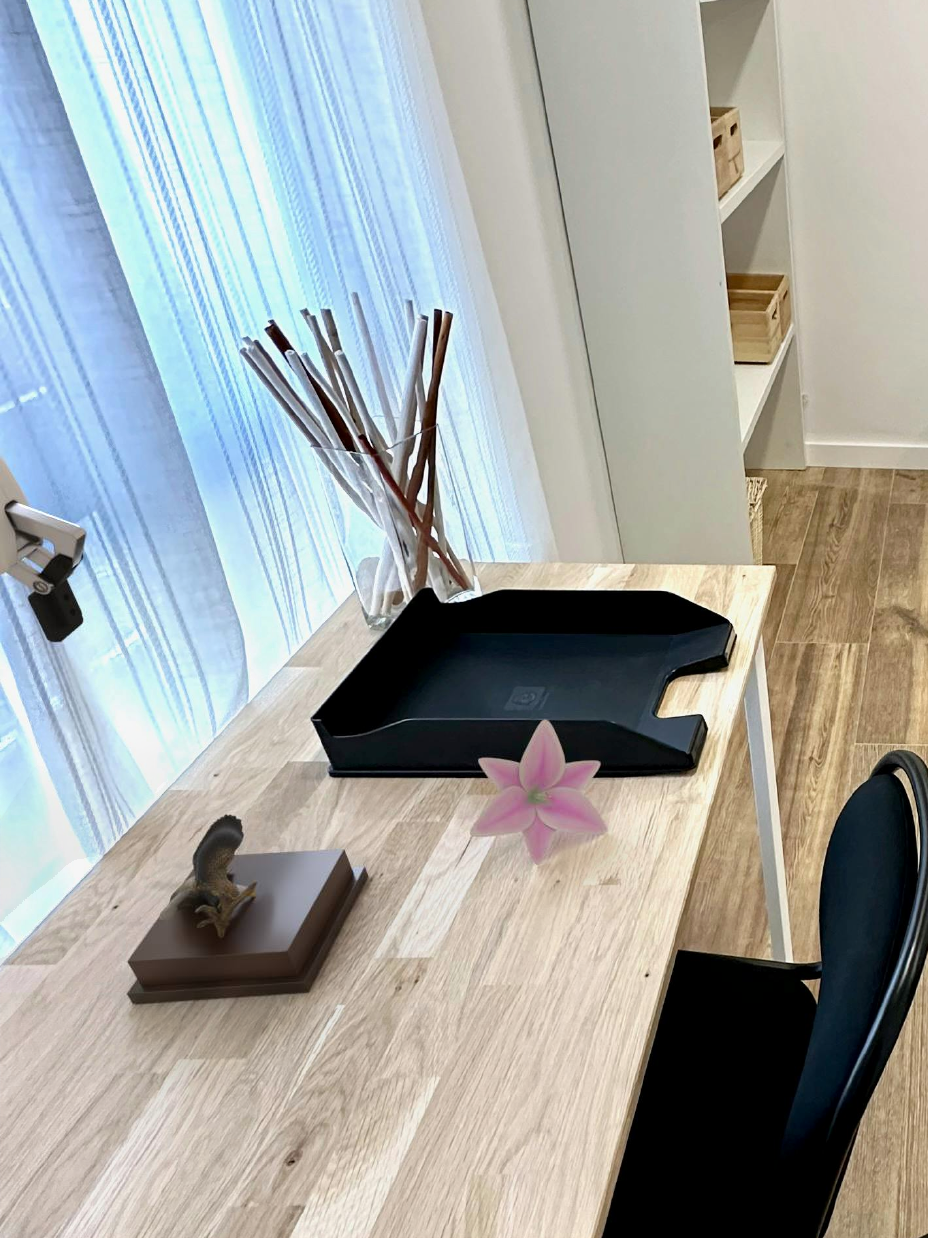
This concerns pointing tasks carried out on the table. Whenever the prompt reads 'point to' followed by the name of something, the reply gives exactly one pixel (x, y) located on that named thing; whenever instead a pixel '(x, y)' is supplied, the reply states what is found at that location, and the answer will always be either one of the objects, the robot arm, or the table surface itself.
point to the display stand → (253, 932)
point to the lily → (539, 795)
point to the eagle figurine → (212, 877)
